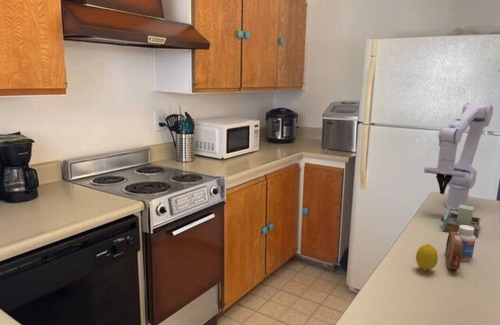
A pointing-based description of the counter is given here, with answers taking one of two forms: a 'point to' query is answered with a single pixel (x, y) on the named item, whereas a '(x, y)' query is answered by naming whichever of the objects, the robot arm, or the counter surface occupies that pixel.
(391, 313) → the counter surface
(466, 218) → the block
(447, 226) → the brown shallow rectangular box
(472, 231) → the pill bottle
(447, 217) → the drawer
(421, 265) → the lemon
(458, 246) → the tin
